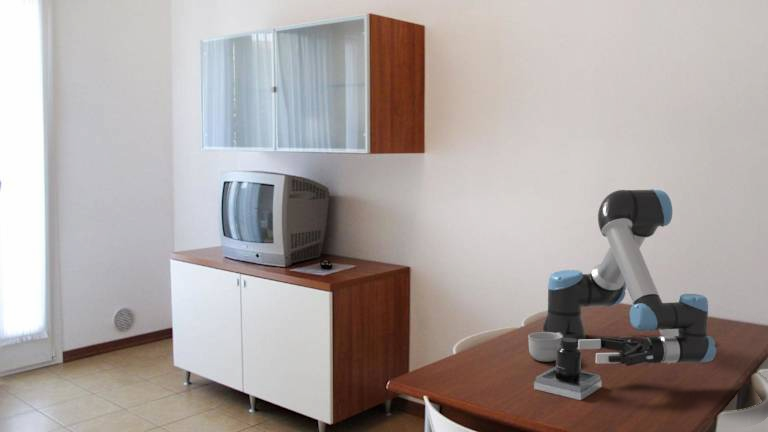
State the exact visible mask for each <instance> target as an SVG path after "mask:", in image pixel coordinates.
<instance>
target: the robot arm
mask: <svg viewBox="0 0 768 432" xmlns="http://www.w3.org/2000/svg"><path fill="white" fill-rule="evenodd" d="M672 205H673V204H672V201H671V198H670V197H669V194H668V193H666V191H664V190H660V189H654V188H653V189H652V188H651V189H633V190H632V189H628V190H627V189H619V190H618V189H617V190H615V191H613V192H611V193H610V194H608V195H606V197H605V198H604V199H603V200H602V202H601V203H600V206H599V209H598V212H597V222H598V228H599V230H600V232H601V235H602V236H603V237H605V238H607V241H608V244H609V248H608V249H607V251H606V254H605V255H604V257H603V259H602V261H601V262H600V264H597V265H595V266H594V267H593V268H592V270H591V272H590V273H586V274H585V273H584V274H583V271H581V270H577V269H564V270H558V271H554V272H553V273H551V274H550V276H549V277H548V285H547V288H548V289H547V290H548V291H547V293H548V294H547V315H546V318H545V320H544V323H543V326H542V328H541V329H542V330H541V332H552V333H562V334H563V337H564V338H574V339H577V340H578V348H577V349H579V350H599V351H601V350H602V349H608V350H614V351H617V352H596V353H595V364H597V365H599V364H622V365H625V366H626V367H630V366H635V365H637V364H642V363H647V364H660V363H662V364H663V363H664V364H667V365H670V364H674V363H696V364H699V363H706V362H711V361H712V360H714V358H715V356H716V354H717V346H716V343H715V340H714V339H713V337H711V336H710V335H708V334H707V328H708V316H709V300H708V298H707V297H706V296H704V295H701V294H696V293H684V294H680V296H679V299H678V302H676V301H675V302H663V301H662V299H661V297H660V295H659V291H658V290H657V287H656V284H655V283H654V280H653V278H652V275H651V273H650V271H649V268H648V266H647V263H646V261H645V259H644V256H643V253H642V252H641V251H642V250H640V248H641V246H642V245H643V243H644V241H645V240H646V239H647V238H649V237H652V236H653V235H654V234H655V233H656V231H657V229H658V228H659V227H661V228H662V227H663V228H664V227H666V226H668V225H669V224H670V223H671V222H672V221H671V220H672V218H673V206H672ZM626 290H627V291H628V293H629V296H630V299H632V301H631V303H632V302H633V304H634V305H633V304H632V306H631V307H630V308H629V309H630V310H629V315H628V316H629V320H630V321H629V322H630V325H631V326H632V327H633V328H634V329H635V330H637V331H645V332H646V331H649V332H654V331H658V330H664V329H678V333H679V336H662V335H659V336H645V337H643V339H642V341H641V342H639V341H635V339H633V338H631V339H628V338H627V339H626V338H625V339H624V338H617V337H615V338H614V337H608V336H607V337H606V336H599V338H594V339H593V338H592V339H591V338H590V339H587V338H586V329H585V326H584V322H583V319H582V308H589V307H590V308H591V307H592V308H593V307H595V308H596V307H597V308H598V307H612V306H616V305H617V306H618V305H619V304H620V303H622V301H624V299H625V297H626ZM619 351H620V352H619Z"/></svg>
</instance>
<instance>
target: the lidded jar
mask: <svg viewBox="0 0 768 432" xmlns="http://www.w3.org/2000/svg"><path fill="white" fill-rule="evenodd" d="M659 333H660V336H679V333H678V329H664V330H659Z"/></svg>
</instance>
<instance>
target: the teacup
mask: <svg viewBox="0 0 768 432" xmlns="http://www.w3.org/2000/svg"><path fill="white" fill-rule="evenodd" d="M527 335H528V336H527V338H528V350H529V351H528V352H529V355H530V356H531V357H532V358H534V360H536V361H538V362H546V363H548V362H556V355H557V350H558V349H559V348H560V347H561V346H560V344H561V339H562V338H564V337H563V334H562V333H552V332H542V331H538V332H532V333H529V334H527Z"/></svg>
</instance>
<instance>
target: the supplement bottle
mask: <svg viewBox="0 0 768 432" xmlns="http://www.w3.org/2000/svg"><path fill="white" fill-rule="evenodd" d="M560 346H561V347H560V348H559V349H558V350H557V355H556V360H555V366H556V380H558V381H562V382H567V383H571V384H577V383H578V382H579V381H580V371H582V369H581V367H582V366H581V364H582V352H581V349H578V340H577V339H574V338H562V339H561V344H560Z"/></svg>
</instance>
